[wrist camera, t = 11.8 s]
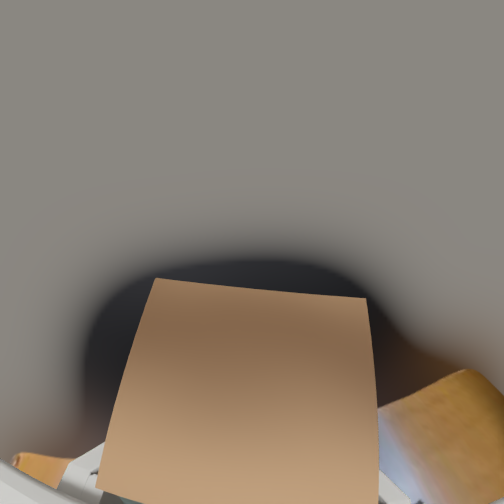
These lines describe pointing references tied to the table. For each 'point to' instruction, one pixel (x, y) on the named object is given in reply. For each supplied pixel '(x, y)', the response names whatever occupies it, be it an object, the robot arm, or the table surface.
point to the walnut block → (245, 400)
